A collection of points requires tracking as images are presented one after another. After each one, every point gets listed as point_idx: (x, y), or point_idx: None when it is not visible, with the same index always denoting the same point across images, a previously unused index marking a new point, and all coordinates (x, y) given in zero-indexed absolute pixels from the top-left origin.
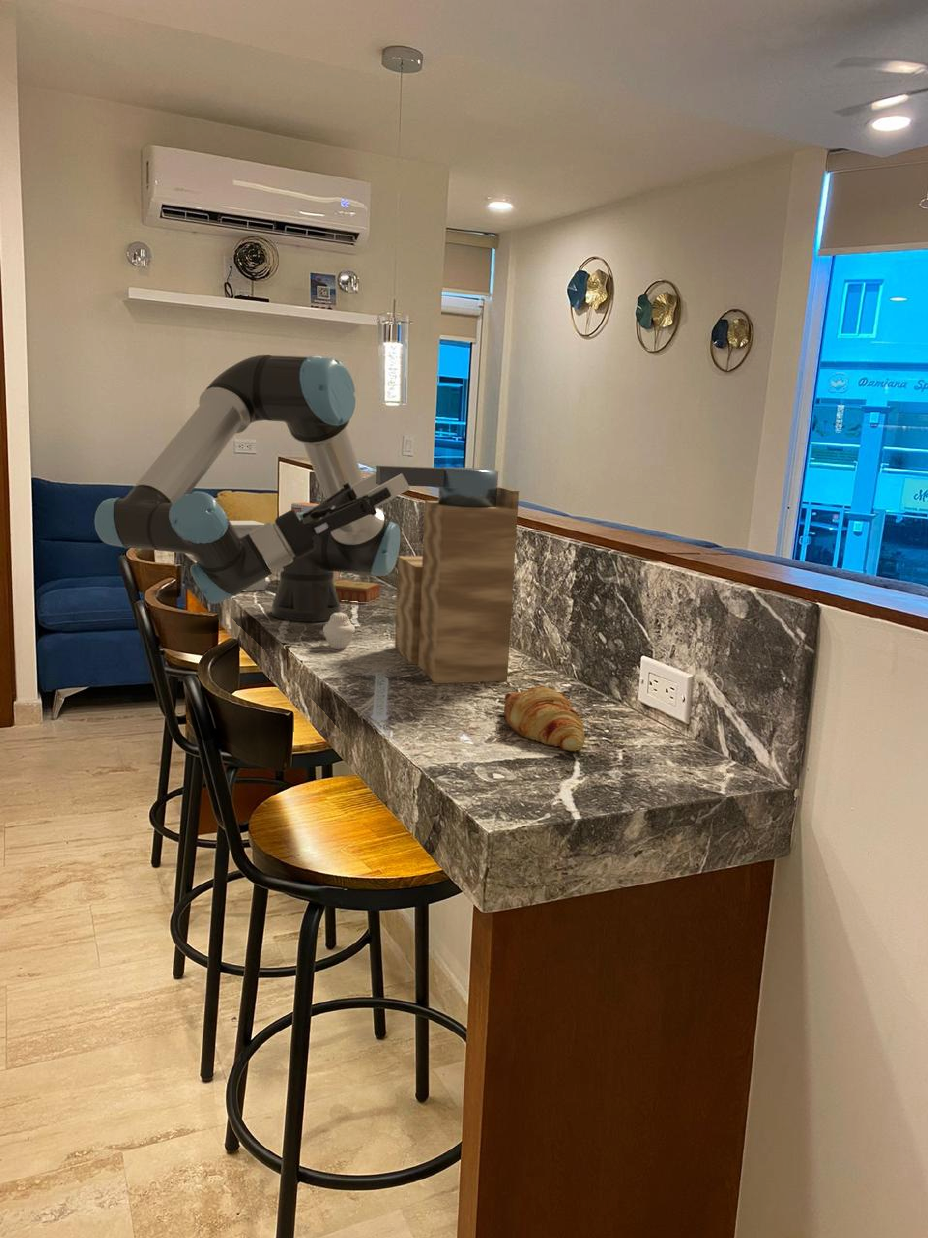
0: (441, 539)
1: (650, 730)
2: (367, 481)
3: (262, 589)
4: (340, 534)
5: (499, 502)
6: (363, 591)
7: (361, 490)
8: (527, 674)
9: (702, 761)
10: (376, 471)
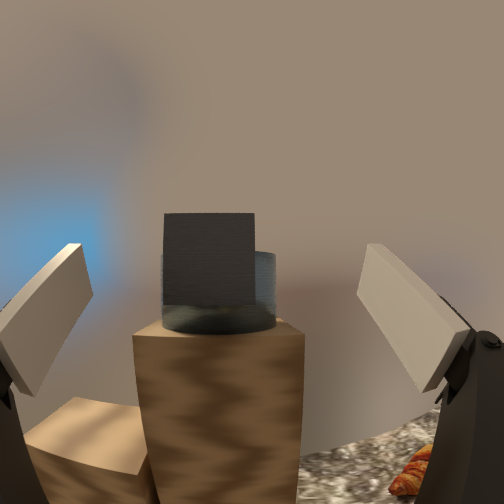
0: (296, 404)
1: (396, 434)
2: (44, 299)
3: None
4: None
5: None
6: None
7: (32, 347)
8: None
9: (438, 416)
10: (168, 242)
